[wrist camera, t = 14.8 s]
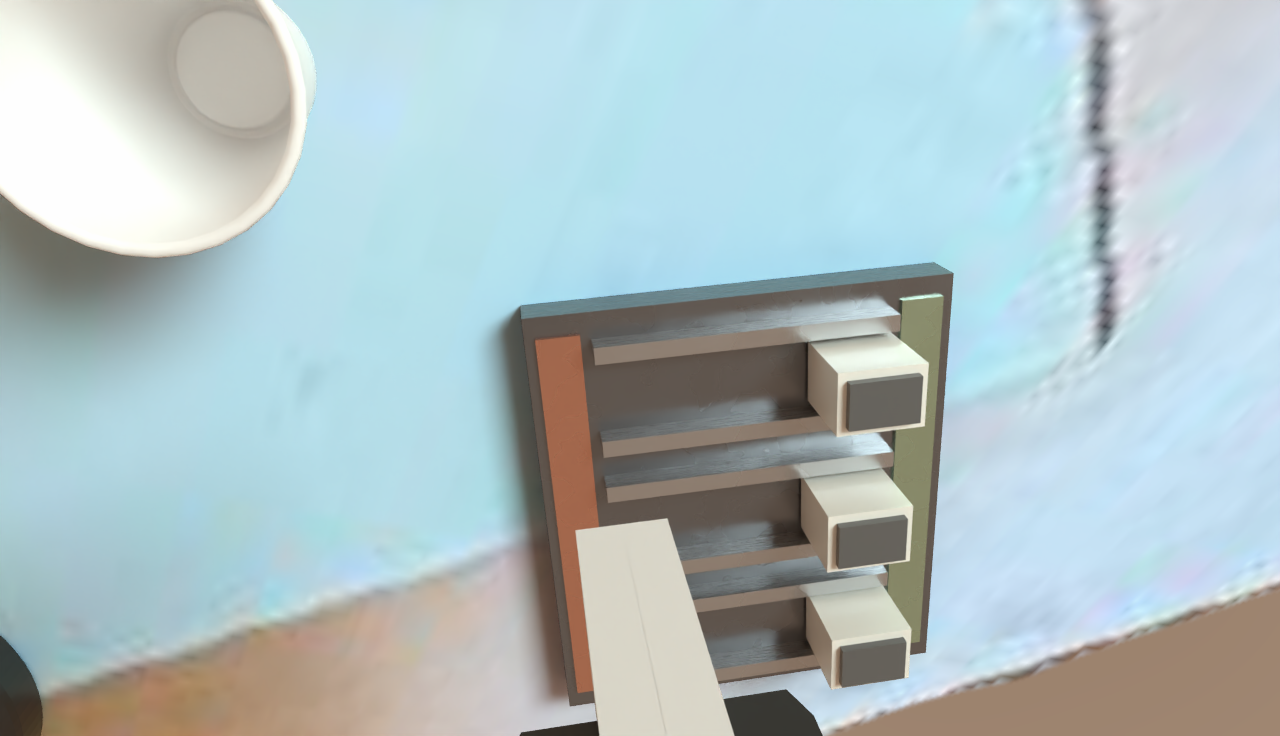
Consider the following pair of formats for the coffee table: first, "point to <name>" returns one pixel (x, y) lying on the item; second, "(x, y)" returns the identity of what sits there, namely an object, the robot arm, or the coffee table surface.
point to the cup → (150, 118)
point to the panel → (728, 447)
